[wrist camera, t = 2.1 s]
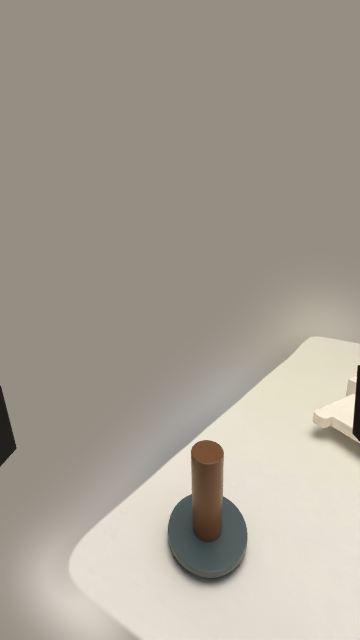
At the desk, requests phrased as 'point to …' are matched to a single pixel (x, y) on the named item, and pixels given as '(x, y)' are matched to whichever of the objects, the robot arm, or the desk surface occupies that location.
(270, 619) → the desk surface
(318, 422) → the organizer
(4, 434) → the robot arm
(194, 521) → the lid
